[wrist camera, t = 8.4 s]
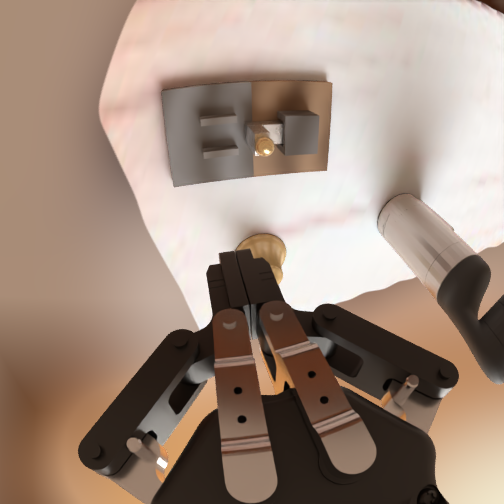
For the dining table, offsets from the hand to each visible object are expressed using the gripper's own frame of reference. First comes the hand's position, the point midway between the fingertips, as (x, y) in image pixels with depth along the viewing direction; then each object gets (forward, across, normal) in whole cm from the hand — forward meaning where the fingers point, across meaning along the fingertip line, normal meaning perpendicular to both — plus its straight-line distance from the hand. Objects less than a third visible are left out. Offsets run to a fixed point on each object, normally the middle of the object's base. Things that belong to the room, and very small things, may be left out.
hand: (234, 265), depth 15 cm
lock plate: (+25, -6, 0) cm, 26 cm away
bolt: (+23, -9, 0) cm, 25 cm away
